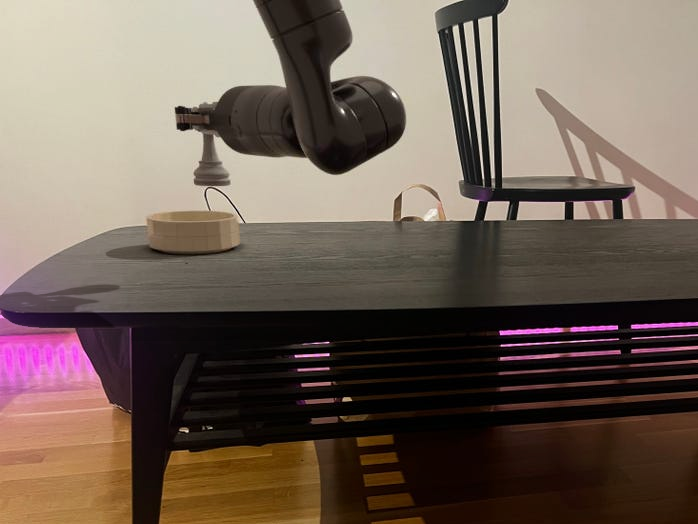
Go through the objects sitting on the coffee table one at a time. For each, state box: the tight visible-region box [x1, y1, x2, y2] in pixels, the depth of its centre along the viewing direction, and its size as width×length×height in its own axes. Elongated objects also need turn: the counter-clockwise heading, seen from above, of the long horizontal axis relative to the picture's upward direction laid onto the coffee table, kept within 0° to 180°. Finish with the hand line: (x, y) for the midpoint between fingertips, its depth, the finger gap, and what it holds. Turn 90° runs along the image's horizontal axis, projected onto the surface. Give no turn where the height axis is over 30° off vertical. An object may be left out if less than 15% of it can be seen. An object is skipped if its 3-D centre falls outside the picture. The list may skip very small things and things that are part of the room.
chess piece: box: [193, 101, 232, 187], centre depth 88 cm, size 4×4×10 cm
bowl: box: [145, 209, 241, 255], centre depth 109 cm, size 13×13×5 cm
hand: (196, 118), depth 89 cm, fingers closed on chess piece, 2 cm apart
